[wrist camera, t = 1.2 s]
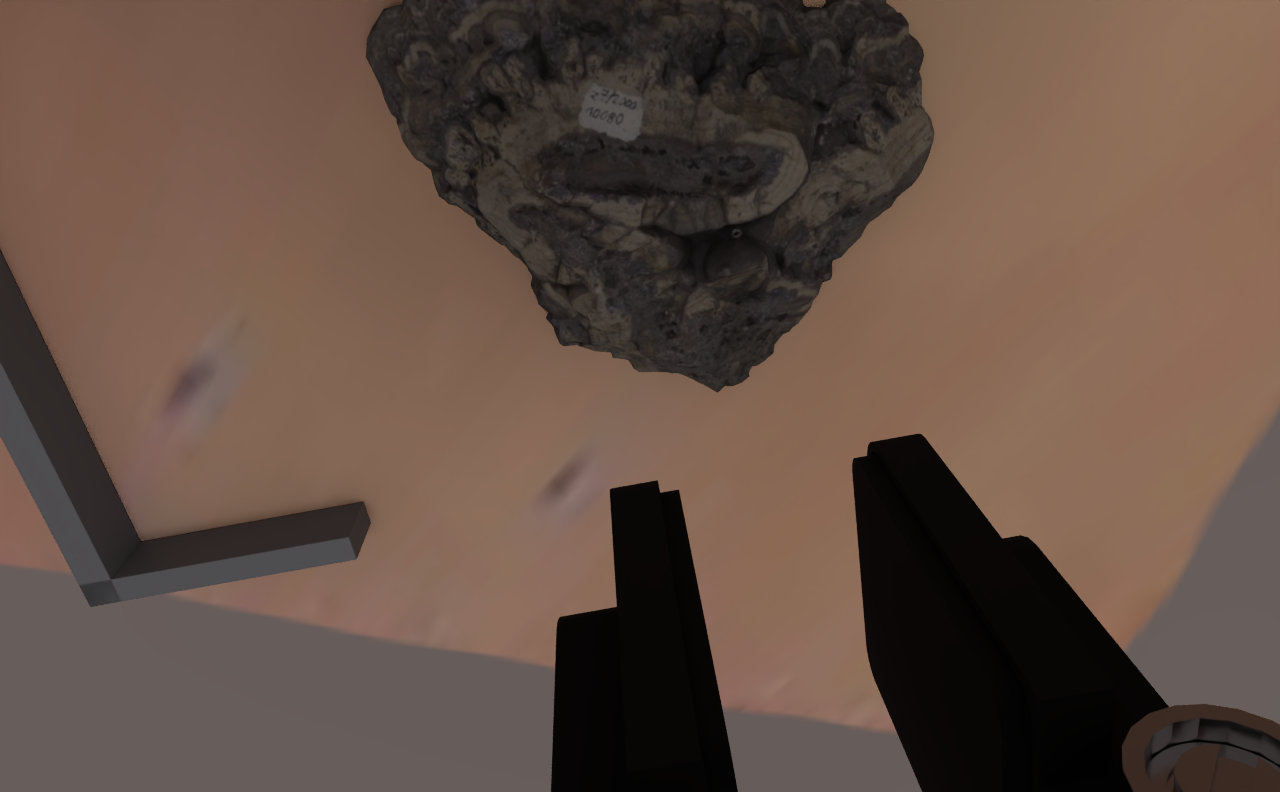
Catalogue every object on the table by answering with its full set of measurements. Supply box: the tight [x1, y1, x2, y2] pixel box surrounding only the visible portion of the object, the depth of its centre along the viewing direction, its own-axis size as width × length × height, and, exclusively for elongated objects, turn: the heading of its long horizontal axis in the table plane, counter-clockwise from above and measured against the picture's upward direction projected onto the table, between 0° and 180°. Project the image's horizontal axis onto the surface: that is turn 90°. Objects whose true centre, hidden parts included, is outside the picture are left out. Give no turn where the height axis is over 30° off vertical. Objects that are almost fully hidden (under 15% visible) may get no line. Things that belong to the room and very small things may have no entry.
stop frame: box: [0, 251, 370, 607], centre depth 30 cm, size 23×10×2 cm, turn 10°
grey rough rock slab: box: [366, 0, 934, 392], centre depth 30 cm, size 19×4×15 cm
